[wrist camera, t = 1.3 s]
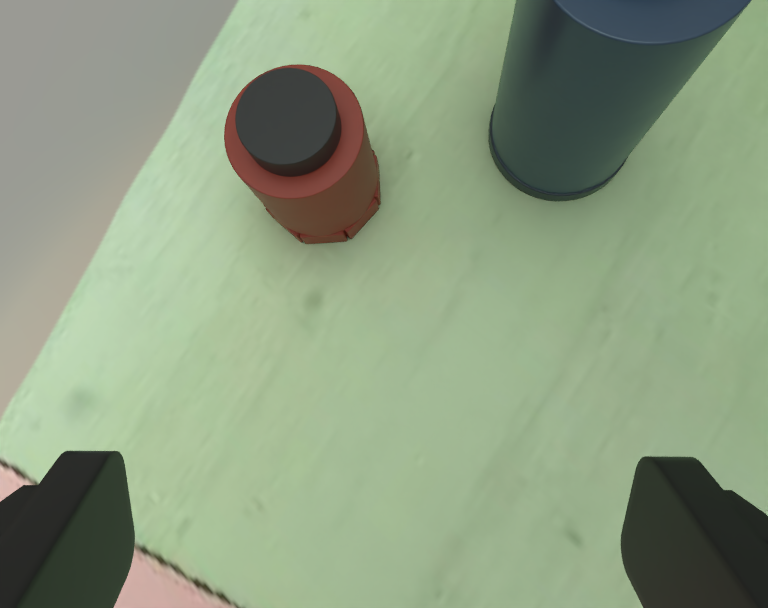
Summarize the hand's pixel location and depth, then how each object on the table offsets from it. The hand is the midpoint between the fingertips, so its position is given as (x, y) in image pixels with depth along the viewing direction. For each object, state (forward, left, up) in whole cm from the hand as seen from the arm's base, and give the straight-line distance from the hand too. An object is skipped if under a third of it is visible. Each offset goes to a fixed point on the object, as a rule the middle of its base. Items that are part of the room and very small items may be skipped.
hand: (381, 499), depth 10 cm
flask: (-17, -5, -24) cm, 30 cm away
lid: (-6, -13, -24) cm, 28 cm away
